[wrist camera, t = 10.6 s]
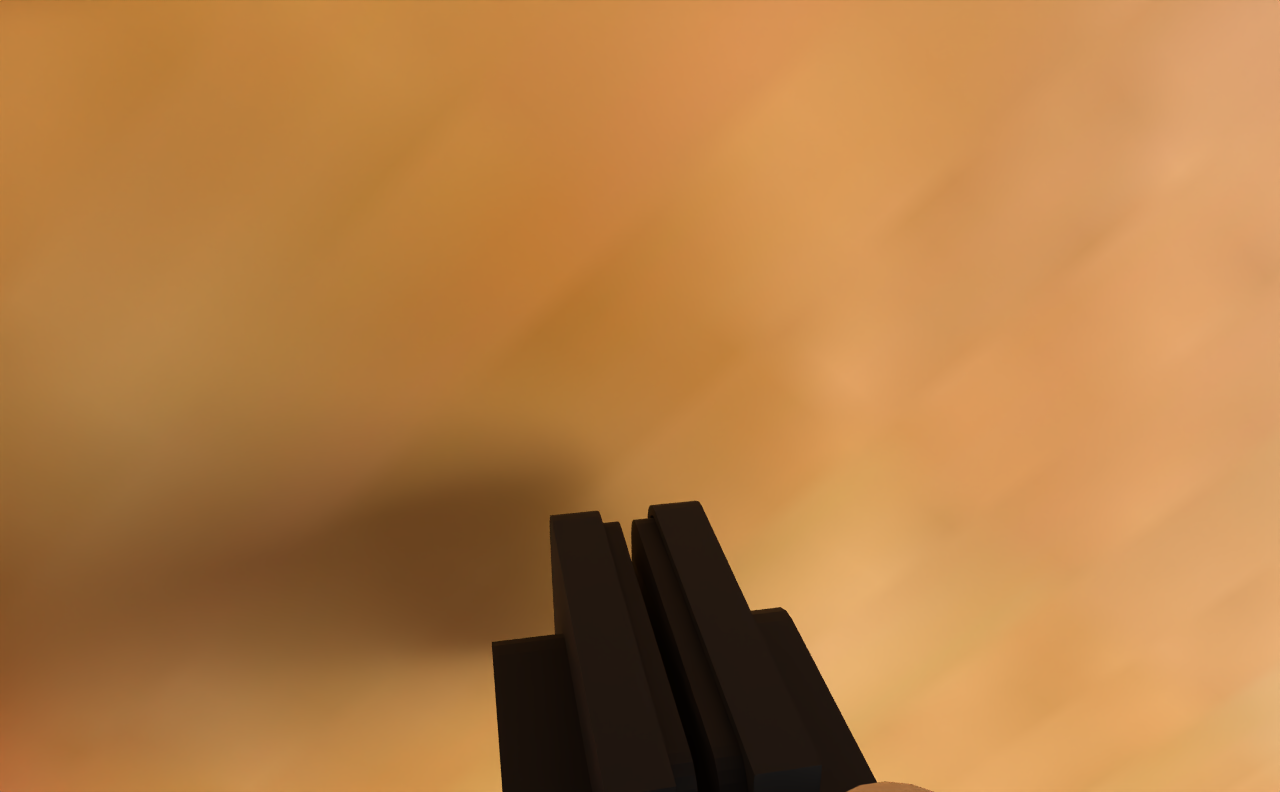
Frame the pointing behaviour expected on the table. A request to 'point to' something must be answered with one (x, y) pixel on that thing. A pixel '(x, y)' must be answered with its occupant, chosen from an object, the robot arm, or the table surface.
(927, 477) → the table surface
